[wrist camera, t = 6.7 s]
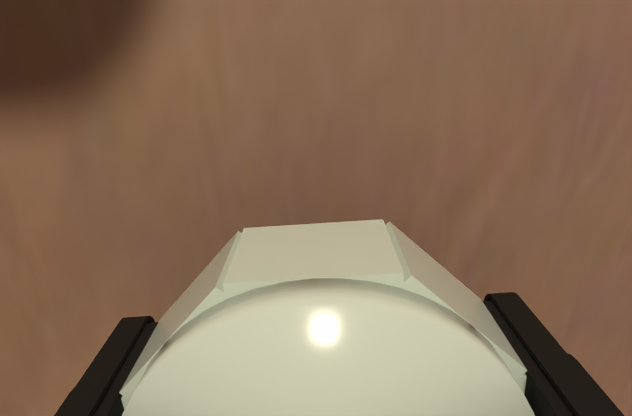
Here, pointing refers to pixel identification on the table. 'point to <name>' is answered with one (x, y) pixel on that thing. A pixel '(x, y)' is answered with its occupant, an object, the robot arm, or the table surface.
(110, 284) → the table surface
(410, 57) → the table surface
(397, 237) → the lid
